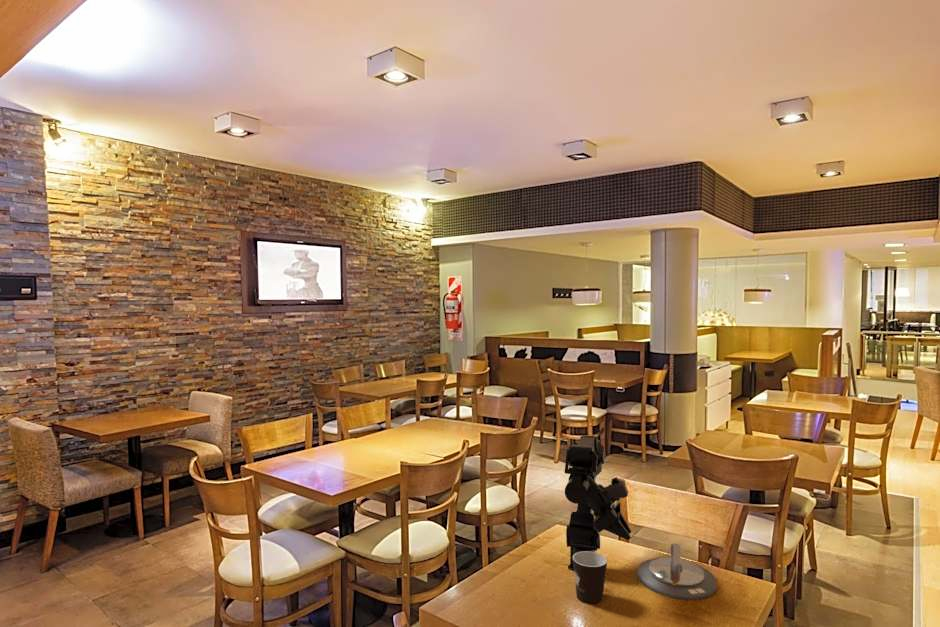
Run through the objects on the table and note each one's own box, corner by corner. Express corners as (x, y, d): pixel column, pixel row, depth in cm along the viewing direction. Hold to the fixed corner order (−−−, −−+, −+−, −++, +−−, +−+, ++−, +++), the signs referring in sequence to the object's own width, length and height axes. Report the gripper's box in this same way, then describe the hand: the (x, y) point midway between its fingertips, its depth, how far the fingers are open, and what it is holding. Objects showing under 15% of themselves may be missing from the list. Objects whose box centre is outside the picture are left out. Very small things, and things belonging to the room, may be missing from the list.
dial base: (628, 585, 149) (628, 579, 149) (649, 556, 165) (649, 551, 165) (708, 608, 138) (708, 601, 138) (722, 575, 154) (722, 568, 154)
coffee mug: (607, 608, 137) (607, 568, 137) (571, 604, 139) (572, 564, 139) (605, 585, 149) (606, 547, 149) (572, 581, 151) (573, 544, 150)
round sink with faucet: (651, 558, 161) (651, 523, 160) (704, 567, 155) (704, 531, 155) (646, 584, 146) (646, 545, 146) (704, 595, 140) (704, 555, 140)
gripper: (607, 480, 142) (652, 529, 138) (612, 462, 160) (652, 506, 156) (575, 507, 144) (619, 557, 141) (584, 487, 162) (623, 530, 158)
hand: (629, 535), depth 149 cm, fingers open, 4 cm apart
